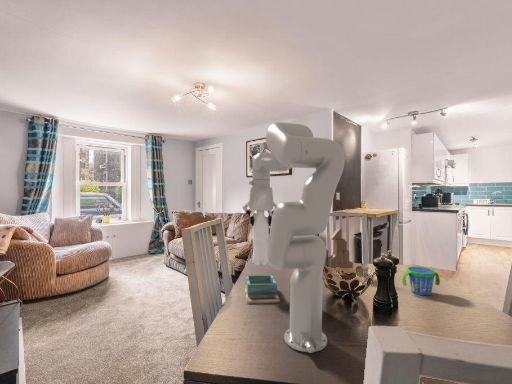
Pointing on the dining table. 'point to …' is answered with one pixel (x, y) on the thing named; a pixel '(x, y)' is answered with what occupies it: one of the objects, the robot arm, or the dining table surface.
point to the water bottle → (260, 239)
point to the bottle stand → (261, 289)
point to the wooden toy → (338, 252)
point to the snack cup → (421, 279)
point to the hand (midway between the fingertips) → (260, 225)
